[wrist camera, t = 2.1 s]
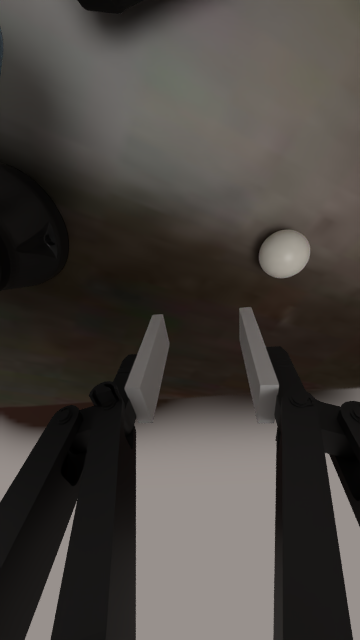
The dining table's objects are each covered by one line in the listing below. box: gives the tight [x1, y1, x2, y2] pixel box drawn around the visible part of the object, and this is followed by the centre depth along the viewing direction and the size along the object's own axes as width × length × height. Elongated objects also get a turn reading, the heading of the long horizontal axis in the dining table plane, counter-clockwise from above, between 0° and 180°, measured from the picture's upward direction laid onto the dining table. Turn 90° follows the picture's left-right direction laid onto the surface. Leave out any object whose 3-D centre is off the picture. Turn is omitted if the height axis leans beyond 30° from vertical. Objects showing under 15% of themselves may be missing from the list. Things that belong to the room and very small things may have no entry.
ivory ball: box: [259, 230, 310, 278], centre depth 26 cm, size 6×6×6 cm
